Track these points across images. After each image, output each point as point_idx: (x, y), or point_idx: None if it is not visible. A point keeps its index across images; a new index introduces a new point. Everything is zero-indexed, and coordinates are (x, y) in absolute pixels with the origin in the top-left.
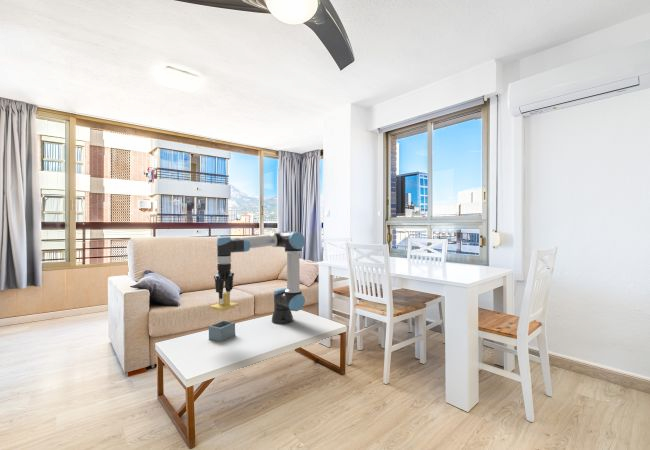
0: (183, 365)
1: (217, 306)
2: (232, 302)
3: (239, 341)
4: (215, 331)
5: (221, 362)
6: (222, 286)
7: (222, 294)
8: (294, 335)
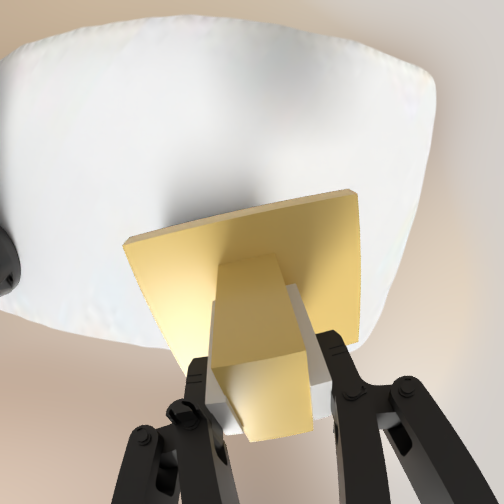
0: (417, 157)
1: (337, 291)
2: (160, 315)
3: (181, 183)
4: None
5: (341, 68)
6: (373, 477)
7: (326, 371)
8: (21, 97)
